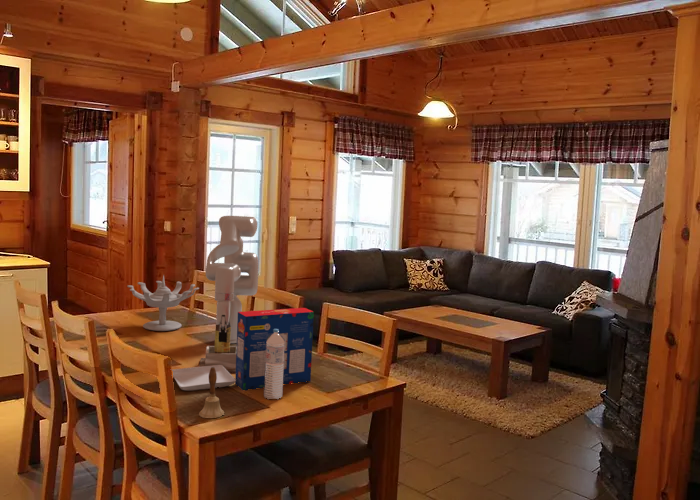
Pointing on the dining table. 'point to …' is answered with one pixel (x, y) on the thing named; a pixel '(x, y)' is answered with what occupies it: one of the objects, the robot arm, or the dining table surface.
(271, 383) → the water bottle
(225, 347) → the sauce bottle
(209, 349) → the bottle caddy
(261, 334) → the blue cardboard box
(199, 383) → the salad plate
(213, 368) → the hand bell
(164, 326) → the candelabra
